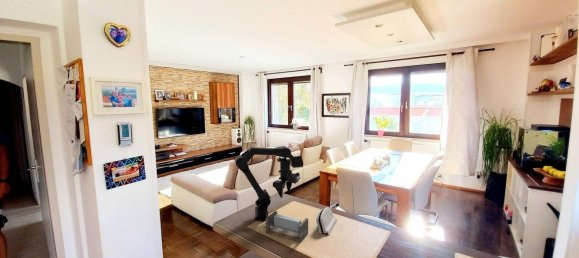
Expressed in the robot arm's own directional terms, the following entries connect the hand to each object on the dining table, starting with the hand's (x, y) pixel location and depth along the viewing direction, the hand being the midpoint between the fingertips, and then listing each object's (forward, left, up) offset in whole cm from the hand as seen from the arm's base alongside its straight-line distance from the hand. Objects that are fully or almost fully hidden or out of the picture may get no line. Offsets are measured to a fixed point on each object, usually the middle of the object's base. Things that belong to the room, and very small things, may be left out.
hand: (285, 194), depth 141 cm
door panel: (+11, -17, -11) cm, 23 cm away
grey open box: (+11, -17, -12) cm, 24 cm away
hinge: (+26, -2, -12) cm, 29 cm away
